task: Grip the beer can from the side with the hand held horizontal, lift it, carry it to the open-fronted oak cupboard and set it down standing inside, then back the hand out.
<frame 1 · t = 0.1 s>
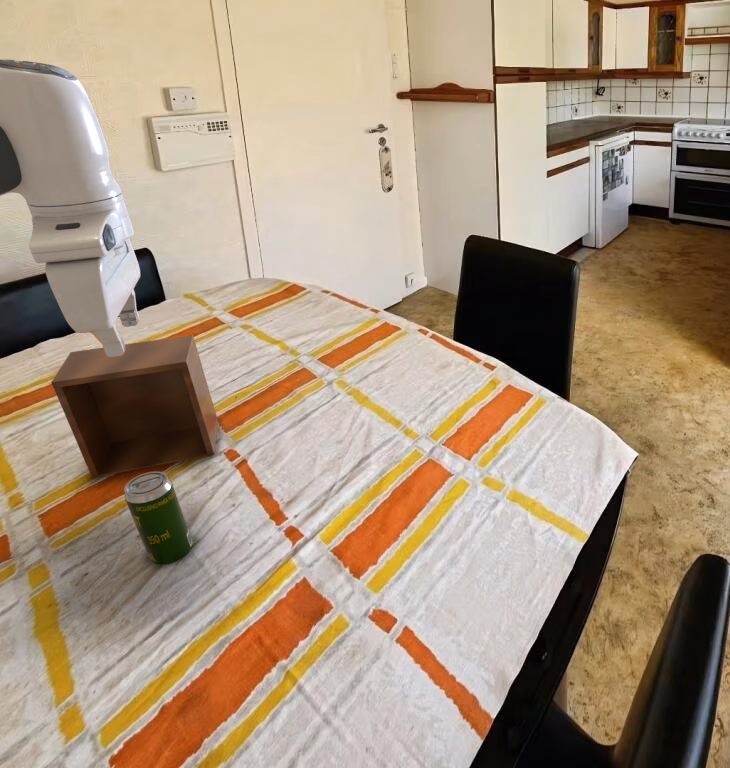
hand: (124, 338, 76), 29 cm above the table, tool pointing down, fingers open, 8 cm apart
cupboard: (160, 451, 106), on the table
beer can: (173, 555, 84), on the table
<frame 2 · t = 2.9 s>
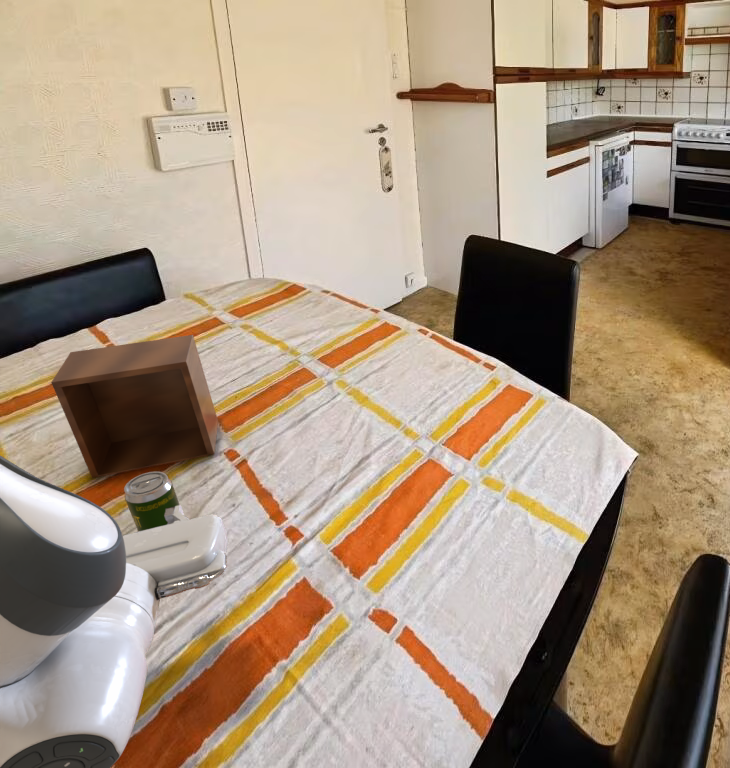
hand: (128, 522, 68), 15 cm above the table, tool horizontal, fingers open, 8 cm apart
nothing on the table moved.
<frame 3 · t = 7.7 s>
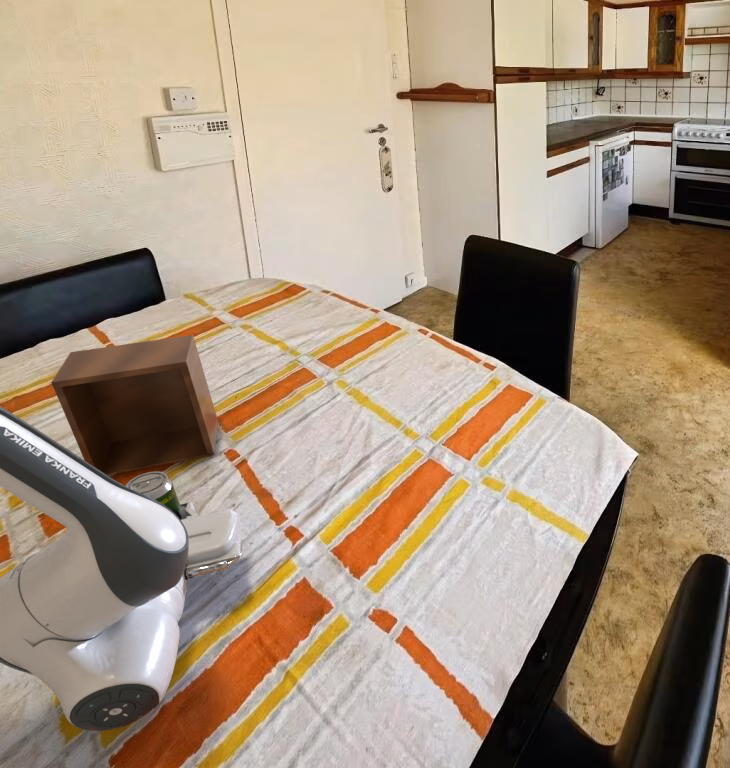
hand: (159, 512, 82), 6 cm above the table, tool horizontal, fingers closed on beer can, 5 cm apart
beer can: (173, 555, 84), on the table, touching gripper
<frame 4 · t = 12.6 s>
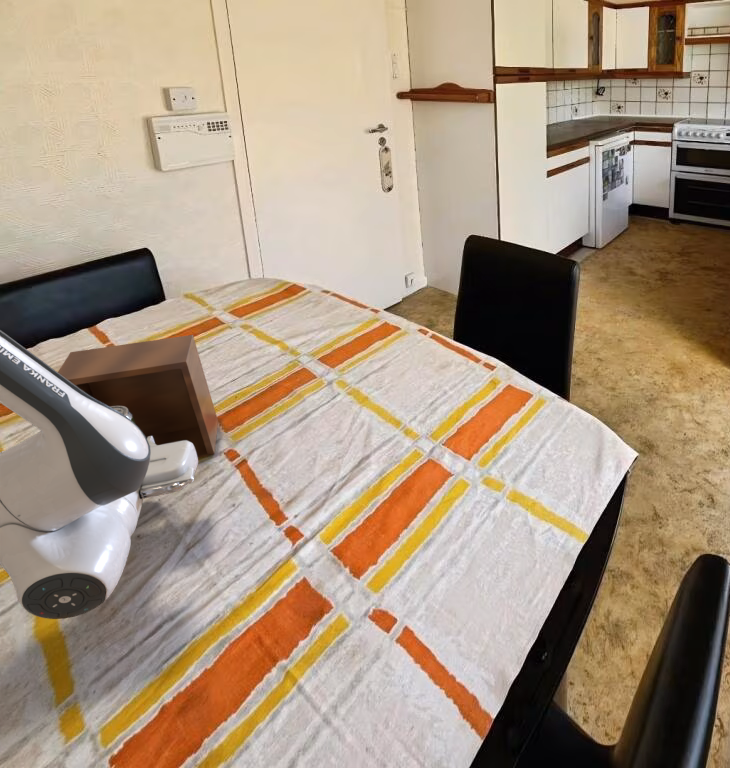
hand: (121, 445, 87), 11 cm above the table, tool horizontal, fingers closed on beer can, 5 cm apart
beer can: (135, 487, 90), point 5 cm above the table, touching gripper
when the fingers open (7 cm above the table, at t = 17.7 s): beer can stays where it is, resting on cupboard.
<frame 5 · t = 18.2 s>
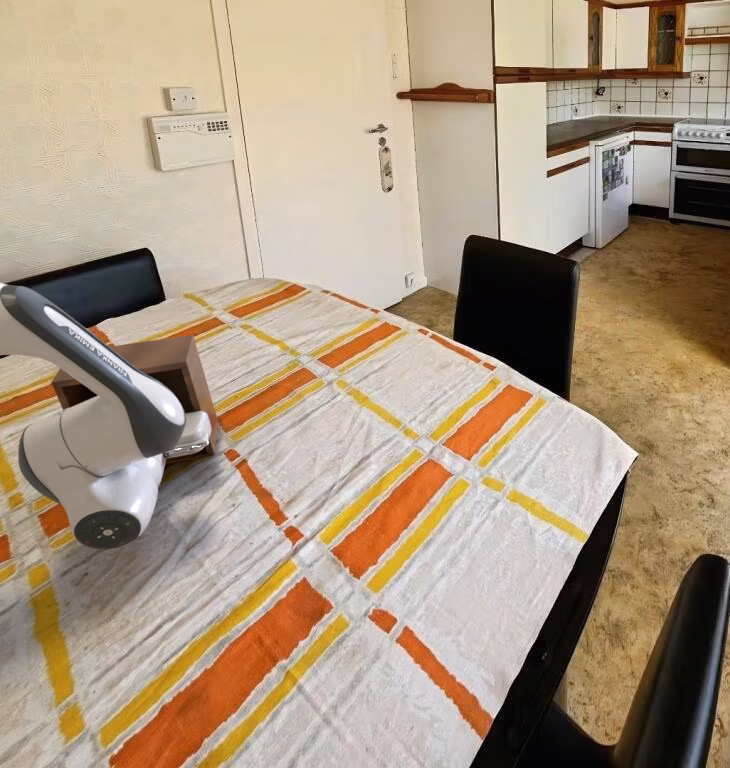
hand: (145, 415, 101), 8 cm above the table, tool horizontal, fingers open, 8 cm apart
beer can: (158, 454, 104), point 1 cm above the table, touching cupboard
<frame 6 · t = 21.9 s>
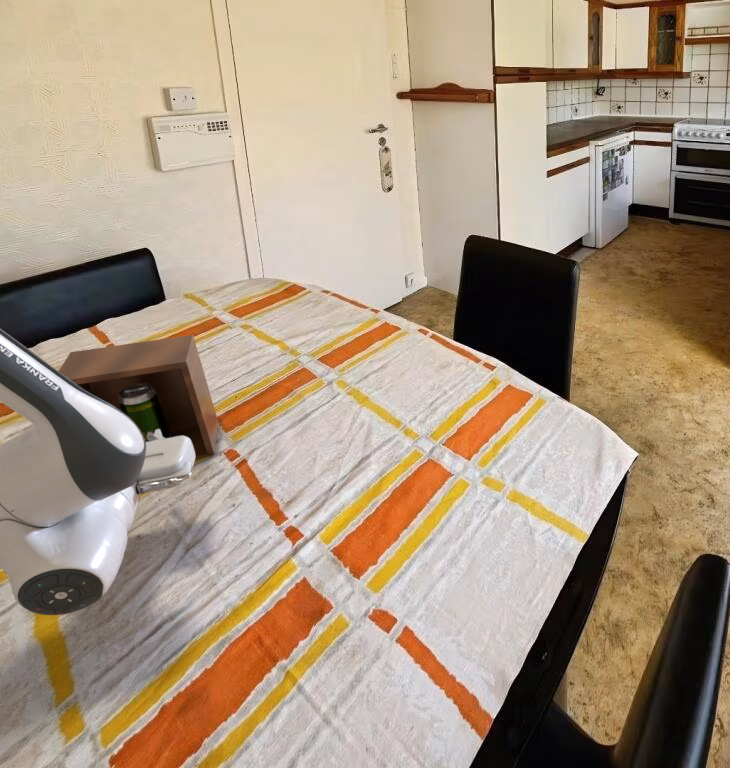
hand: (118, 440, 86), 12 cm above the table, tool horizontal, fingers open, 8 cm apart
nothing on the table moved.
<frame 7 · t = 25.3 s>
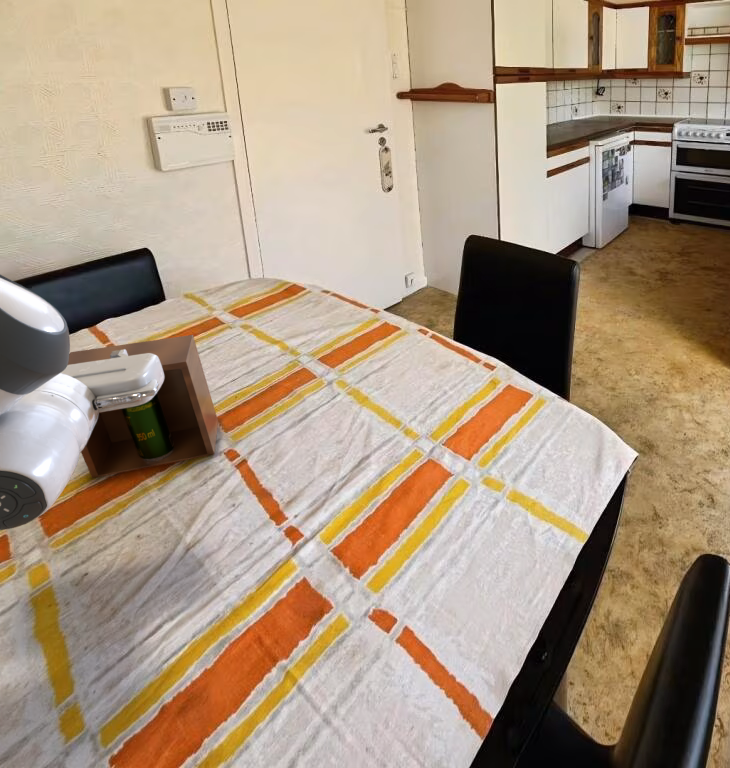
hand: (79, 361, 78), 26 cm above the table, tool horizontal, fingers open, 8 cm apart
nothing on the table moved.
at the end: beer can inside the target area on the cupboard (1.8 cm from its centre), point 0.8 cm above the cupboard's base; beer can tilted 0°; the gripper is holding nothing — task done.
